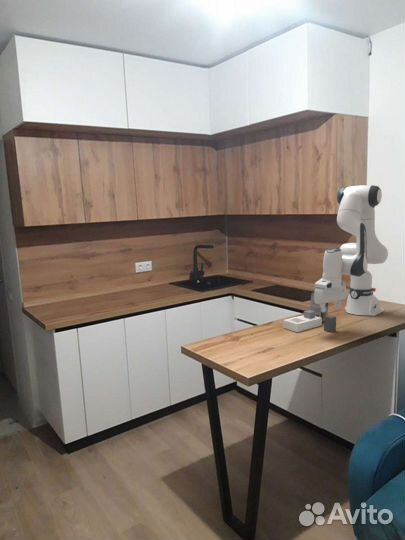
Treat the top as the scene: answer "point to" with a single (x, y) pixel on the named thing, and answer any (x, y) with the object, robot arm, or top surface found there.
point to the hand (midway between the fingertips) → (330, 310)
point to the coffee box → (318, 307)
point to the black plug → (330, 323)
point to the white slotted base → (302, 322)
